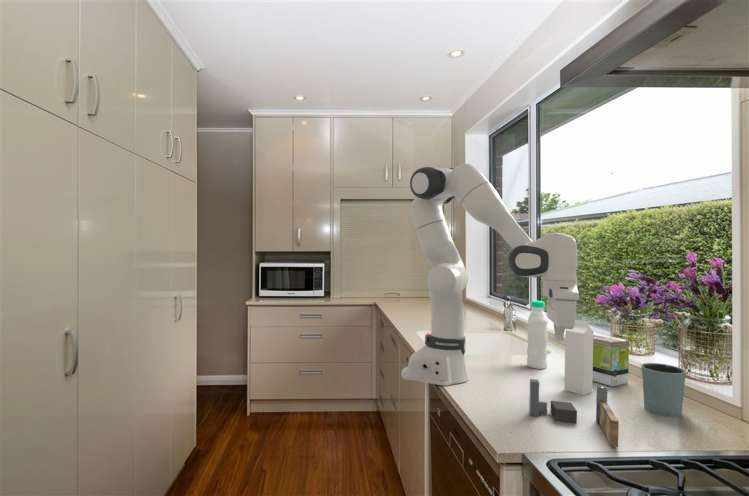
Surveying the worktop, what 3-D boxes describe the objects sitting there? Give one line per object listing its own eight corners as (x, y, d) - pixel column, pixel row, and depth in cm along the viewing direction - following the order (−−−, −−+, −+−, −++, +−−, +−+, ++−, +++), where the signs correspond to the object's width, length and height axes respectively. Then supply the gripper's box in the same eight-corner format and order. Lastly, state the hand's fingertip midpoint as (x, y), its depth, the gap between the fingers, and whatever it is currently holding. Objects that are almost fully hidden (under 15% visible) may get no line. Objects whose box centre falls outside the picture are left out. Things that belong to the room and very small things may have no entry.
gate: (599, 422, 103) (599, 400, 103) (605, 423, 102) (606, 400, 102) (610, 445, 90) (611, 420, 90) (618, 447, 90) (618, 421, 90)
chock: (555, 422, 104) (555, 408, 104) (550, 413, 110) (550, 400, 110) (576, 424, 103) (576, 410, 103) (570, 415, 109) (570, 402, 109)
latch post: (530, 415, 107) (531, 381, 107) (528, 411, 110) (529, 377, 110) (548, 417, 106) (548, 383, 106) (546, 413, 109) (546, 379, 109)
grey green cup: (684, 409, 114) (684, 366, 114) (686, 421, 106) (687, 375, 106) (640, 401, 120) (641, 360, 120) (640, 412, 111) (641, 368, 112)
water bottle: (522, 365, 157) (524, 300, 157) (536, 363, 159) (538, 299, 160) (536, 370, 150) (538, 302, 150) (551, 368, 153) (552, 301, 153)
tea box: (629, 383, 137) (630, 339, 137) (611, 387, 132) (612, 342, 132) (587, 371, 150) (588, 331, 150) (569, 374, 145) (570, 333, 146)
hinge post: (597, 423, 103) (598, 388, 103) (594, 419, 105) (595, 385, 106) (607, 424, 103) (608, 389, 103) (605, 421, 105) (605, 386, 105)
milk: (583, 395, 124) (584, 323, 124) (563, 389, 129) (565, 320, 129) (592, 391, 128) (594, 321, 128) (573, 386, 133) (574, 318, 133)
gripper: (542, 287, 125) (541, 332, 125) (554, 293, 105) (553, 346, 105) (564, 288, 124) (563, 333, 123) (580, 294, 104) (579, 348, 104)
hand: (559, 339), depth 114 cm, fingers closed
